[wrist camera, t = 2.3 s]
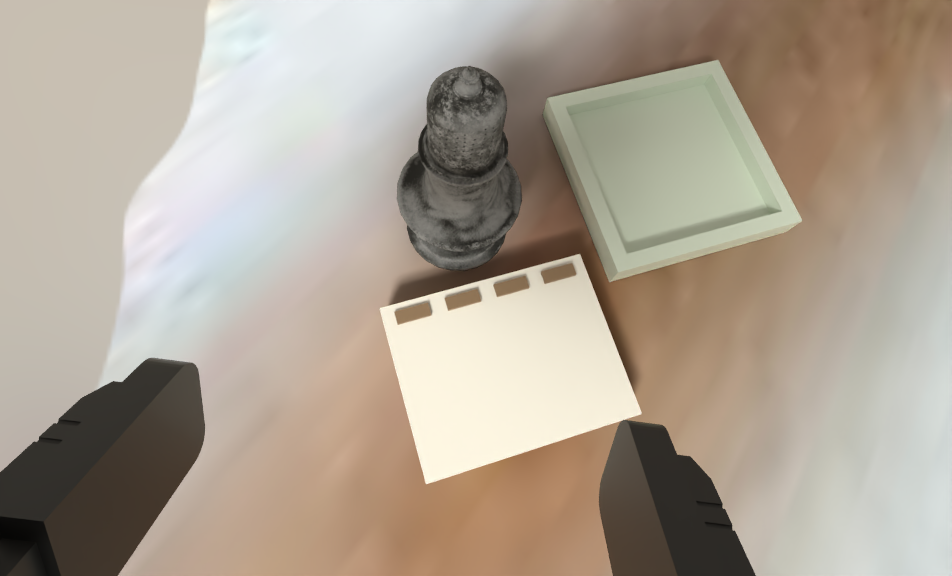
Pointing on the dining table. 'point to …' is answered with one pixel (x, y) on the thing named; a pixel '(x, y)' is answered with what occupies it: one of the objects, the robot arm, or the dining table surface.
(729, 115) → the tray
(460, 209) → the grey stone rounded piece
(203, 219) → the dining table surface
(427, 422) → the board
